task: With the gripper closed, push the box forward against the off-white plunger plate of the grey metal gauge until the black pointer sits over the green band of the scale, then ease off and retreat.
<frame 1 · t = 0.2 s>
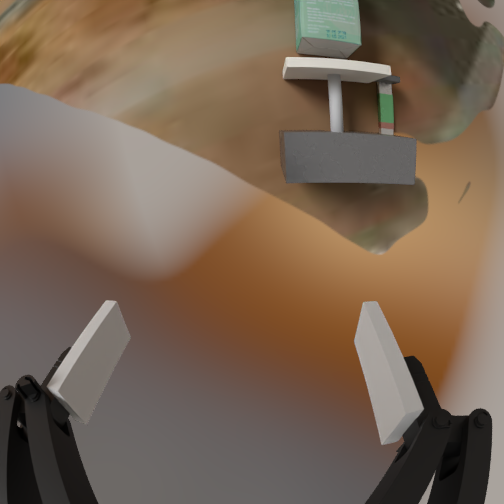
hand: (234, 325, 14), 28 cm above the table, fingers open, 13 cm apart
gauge: (329, 116, 33), on the table
box: (319, 17, 26), on the table
plunger: (349, 115, 29), point 4 cm above the table, slide at 0.0 cm
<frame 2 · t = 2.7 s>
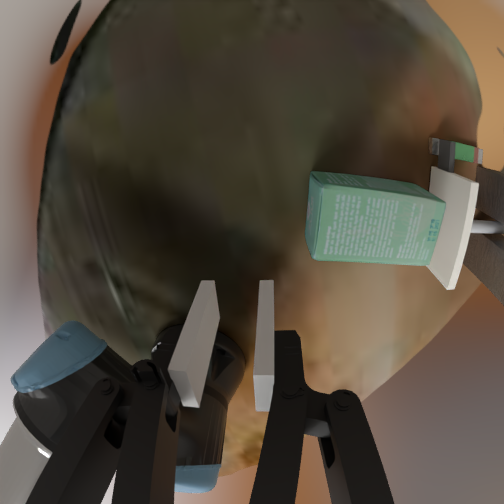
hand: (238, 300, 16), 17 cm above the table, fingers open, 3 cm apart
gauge: (460, 214, 28), on the table
box: (360, 205, 30), on the table
plunger: (481, 213, 24), point 4 cm above the table, slide at 0.0 cm
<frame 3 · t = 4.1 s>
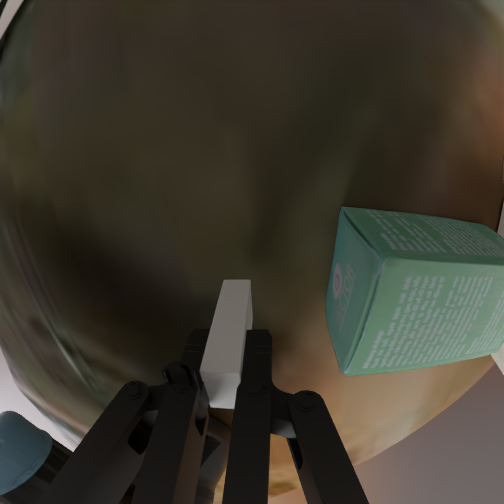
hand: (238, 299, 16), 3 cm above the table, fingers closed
box: (410, 258, 18), on the table
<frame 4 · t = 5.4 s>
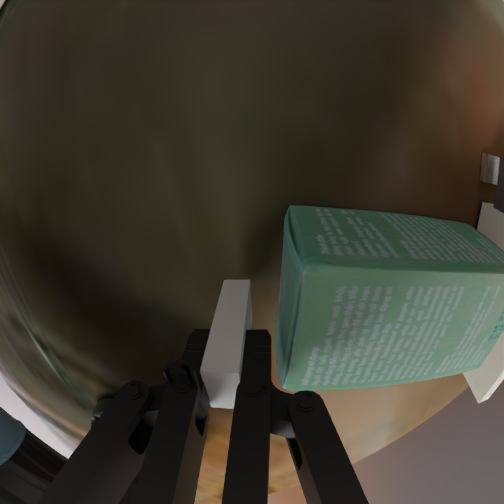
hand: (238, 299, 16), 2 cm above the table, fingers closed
box: (377, 261, 17), on the table, touching gripper
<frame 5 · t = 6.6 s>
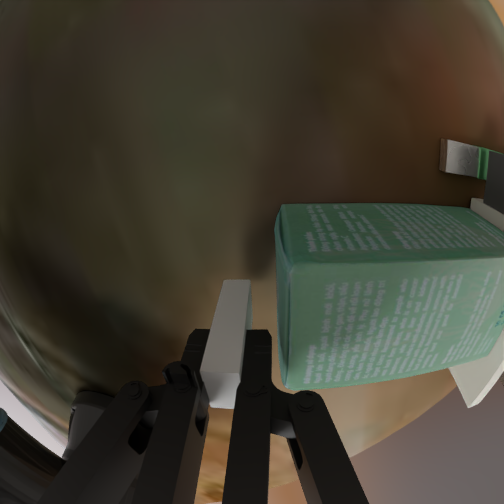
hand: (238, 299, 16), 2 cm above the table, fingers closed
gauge: (483, 271, 16), on the table
box: (377, 254, 16), on the table
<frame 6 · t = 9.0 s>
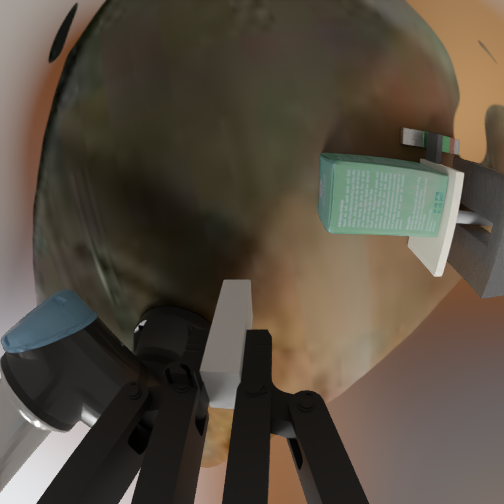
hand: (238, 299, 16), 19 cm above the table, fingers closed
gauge: (437, 205, 30), on the table
box: (368, 184, 30), on the table
plunger: (469, 204, 25), point 4 cm above the table, slide at 2.6 cm
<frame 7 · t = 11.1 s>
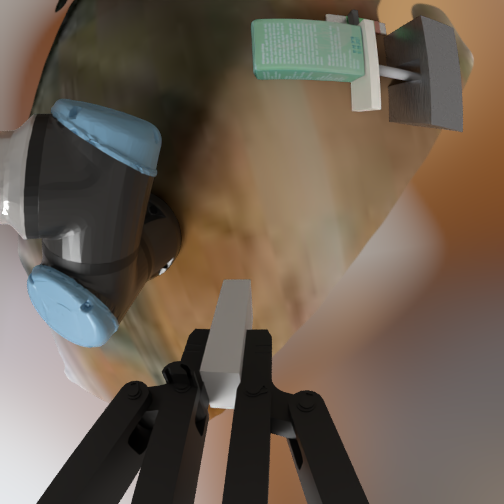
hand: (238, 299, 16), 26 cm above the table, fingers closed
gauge: (375, 76, 30), on the table
box: (301, 57, 30), on the table, touching plunger
plunger: (401, 63, 25), point 4 cm above the table, slide at 2.5 cm, touching box
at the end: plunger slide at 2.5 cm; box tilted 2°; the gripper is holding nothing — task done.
